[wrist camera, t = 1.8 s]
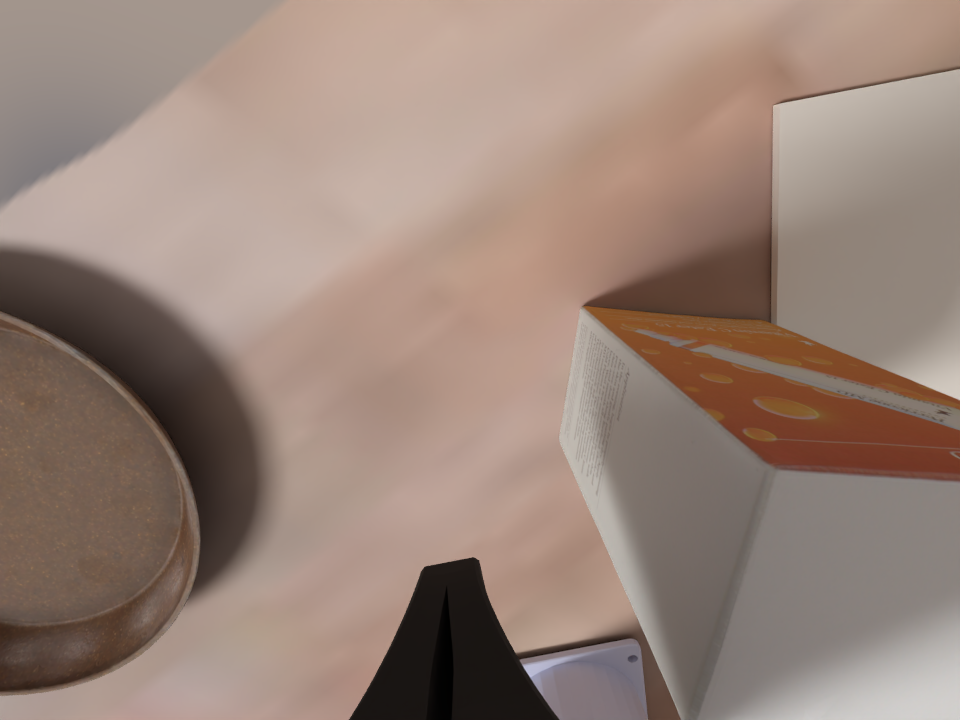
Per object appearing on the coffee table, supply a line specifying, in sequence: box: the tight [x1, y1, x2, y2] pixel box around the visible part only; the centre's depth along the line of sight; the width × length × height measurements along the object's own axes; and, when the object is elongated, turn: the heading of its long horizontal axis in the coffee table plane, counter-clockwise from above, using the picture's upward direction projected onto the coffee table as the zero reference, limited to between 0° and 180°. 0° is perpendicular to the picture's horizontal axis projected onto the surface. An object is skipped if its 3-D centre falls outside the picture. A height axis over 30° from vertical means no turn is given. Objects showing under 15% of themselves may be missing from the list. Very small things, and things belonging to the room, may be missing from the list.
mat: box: [771, 69, 960, 400], centre depth 21 cm, size 20×13×1 cm, turn 10°
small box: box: [559, 306, 960, 720], centre depth 15 cm, size 8×6×13 cm
